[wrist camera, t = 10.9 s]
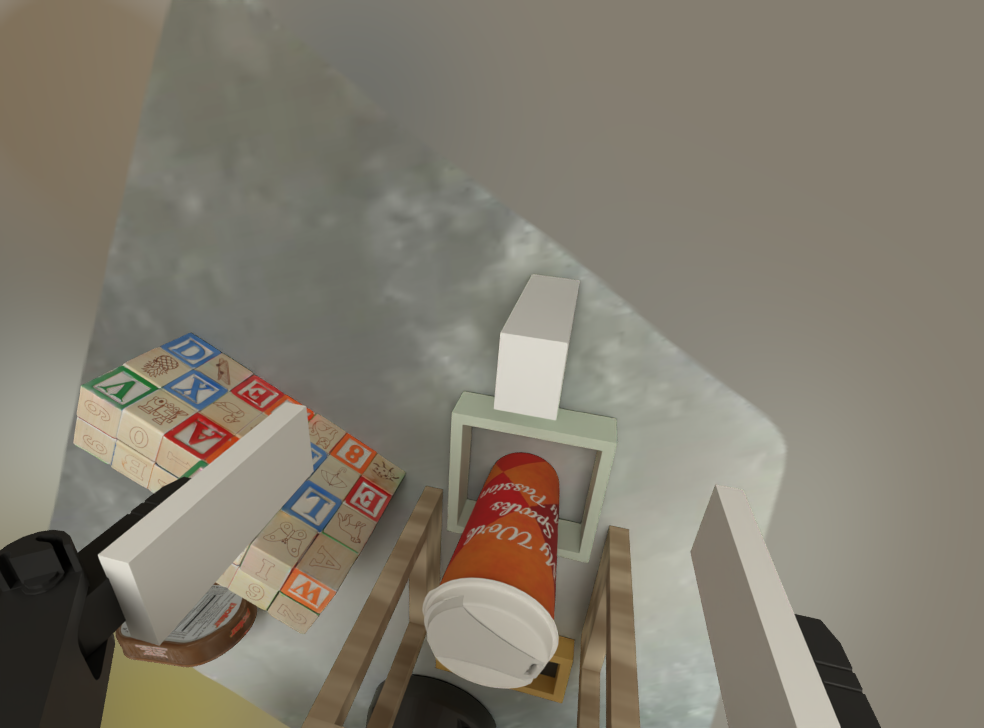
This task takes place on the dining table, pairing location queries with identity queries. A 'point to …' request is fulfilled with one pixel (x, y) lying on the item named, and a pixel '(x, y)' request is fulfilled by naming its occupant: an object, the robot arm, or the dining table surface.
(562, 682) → the pit trap
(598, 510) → the collar
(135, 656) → the tin
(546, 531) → the paper cup
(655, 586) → the dining table surface
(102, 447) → the stack of blocks
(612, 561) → the oak tunnel
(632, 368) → the dining table surface
